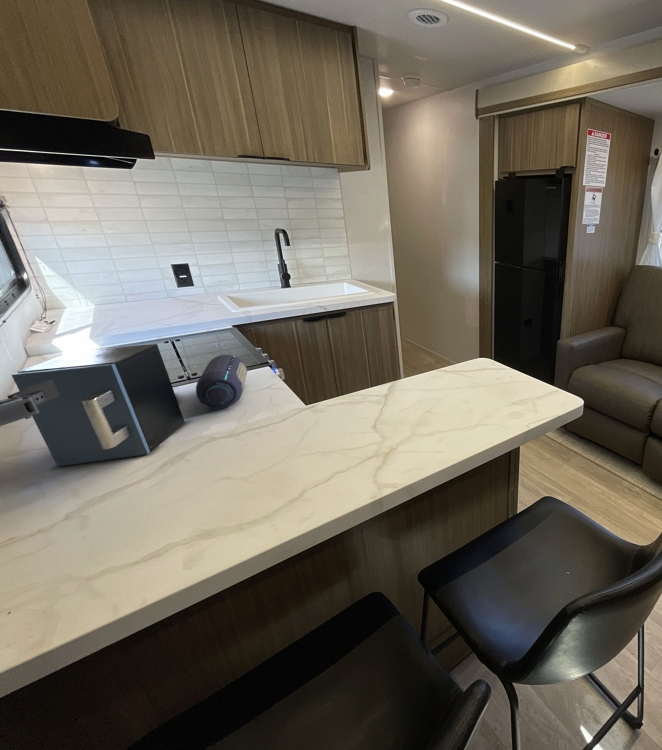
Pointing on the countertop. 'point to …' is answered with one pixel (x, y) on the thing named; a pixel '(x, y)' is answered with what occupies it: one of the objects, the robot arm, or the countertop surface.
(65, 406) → the freezer door
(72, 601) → the countertop surface
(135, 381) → the box
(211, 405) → the portable speaker
